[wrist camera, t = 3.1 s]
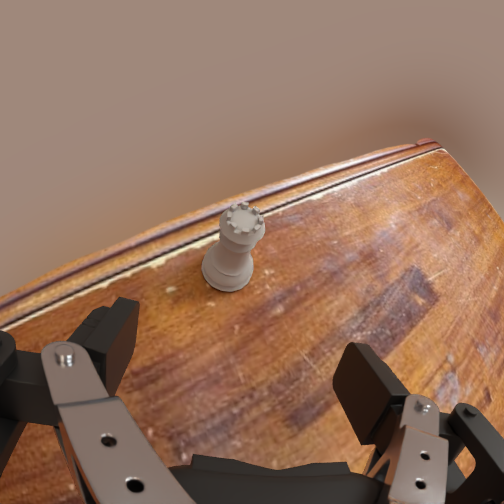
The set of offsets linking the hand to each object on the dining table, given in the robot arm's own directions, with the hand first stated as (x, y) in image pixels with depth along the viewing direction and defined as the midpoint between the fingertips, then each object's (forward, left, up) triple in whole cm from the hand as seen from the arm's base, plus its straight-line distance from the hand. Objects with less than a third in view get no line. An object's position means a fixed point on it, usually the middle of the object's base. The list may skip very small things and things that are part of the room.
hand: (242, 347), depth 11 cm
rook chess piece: (0, +10, -14) cm, 17 cm away
